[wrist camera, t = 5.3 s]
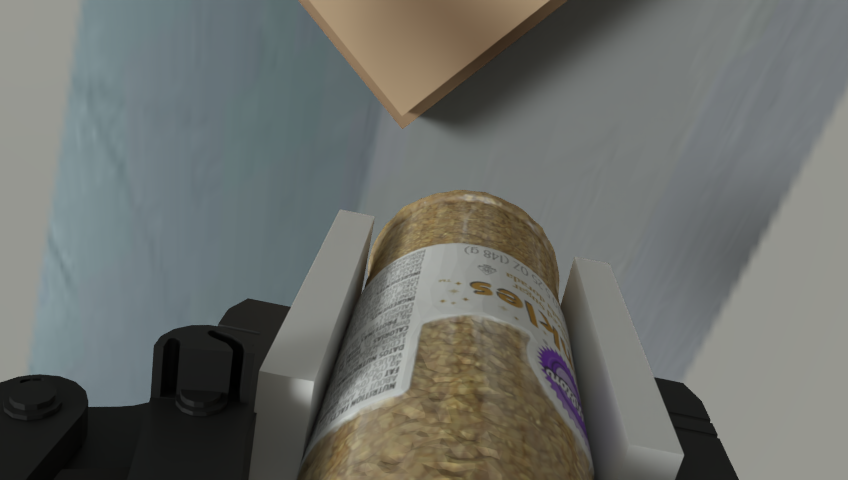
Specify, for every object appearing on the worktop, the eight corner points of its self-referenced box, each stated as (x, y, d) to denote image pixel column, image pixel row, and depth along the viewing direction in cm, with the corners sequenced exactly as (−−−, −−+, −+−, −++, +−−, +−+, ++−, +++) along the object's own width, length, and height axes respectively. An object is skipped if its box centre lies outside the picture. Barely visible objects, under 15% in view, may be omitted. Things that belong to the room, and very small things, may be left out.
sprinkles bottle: (596, 277, 18) (841, 1008, 6) (457, 389, 20) (418, 1172, 7) (462, 141, 17) (416, 676, 5) (326, 269, 19) (21, 937, 6)
